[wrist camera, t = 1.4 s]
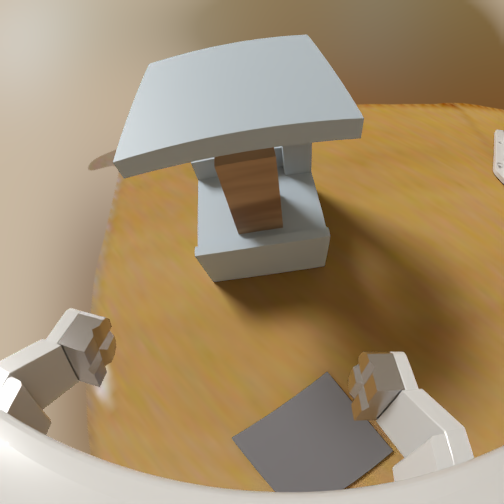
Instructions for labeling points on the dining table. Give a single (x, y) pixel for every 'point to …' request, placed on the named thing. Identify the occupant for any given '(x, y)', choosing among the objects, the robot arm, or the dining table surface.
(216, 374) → the dining table surface
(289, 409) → the felt mat
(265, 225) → the walnut block
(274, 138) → the grey cantilever stand
